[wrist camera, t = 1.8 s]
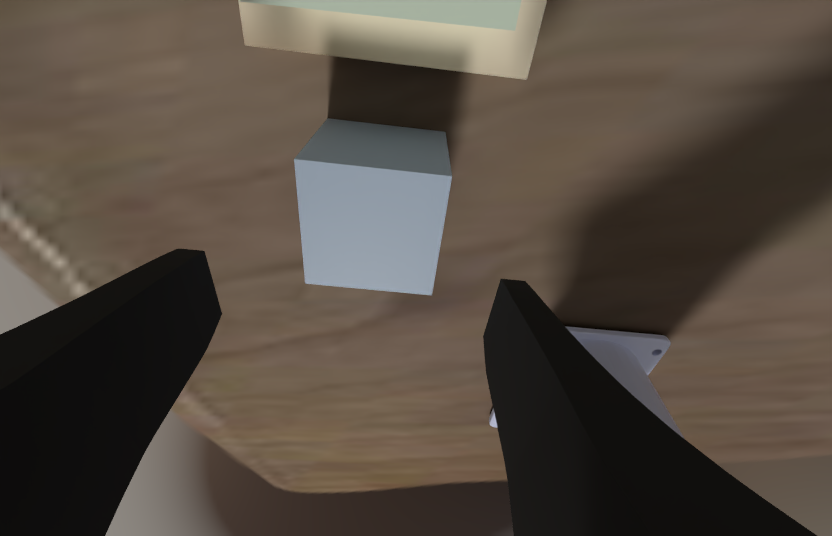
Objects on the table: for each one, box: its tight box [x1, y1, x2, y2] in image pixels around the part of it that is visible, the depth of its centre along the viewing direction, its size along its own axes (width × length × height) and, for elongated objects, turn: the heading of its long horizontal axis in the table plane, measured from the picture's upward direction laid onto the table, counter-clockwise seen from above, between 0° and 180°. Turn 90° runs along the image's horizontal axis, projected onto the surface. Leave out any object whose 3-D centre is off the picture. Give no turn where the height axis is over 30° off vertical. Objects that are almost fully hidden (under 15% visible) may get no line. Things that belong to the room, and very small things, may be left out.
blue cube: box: [294, 118, 452, 295], centre depth 14 cm, size 4×4×4 cm
